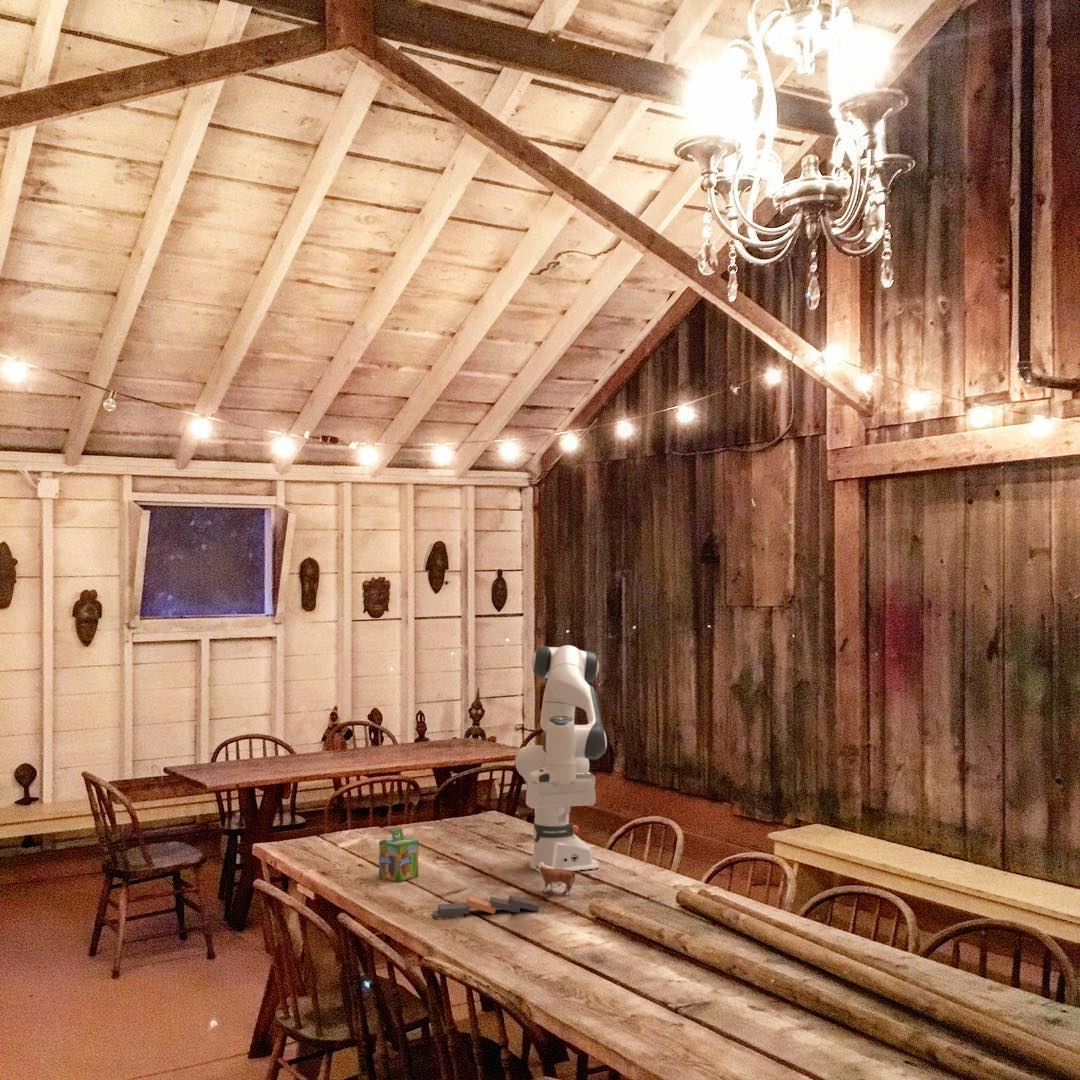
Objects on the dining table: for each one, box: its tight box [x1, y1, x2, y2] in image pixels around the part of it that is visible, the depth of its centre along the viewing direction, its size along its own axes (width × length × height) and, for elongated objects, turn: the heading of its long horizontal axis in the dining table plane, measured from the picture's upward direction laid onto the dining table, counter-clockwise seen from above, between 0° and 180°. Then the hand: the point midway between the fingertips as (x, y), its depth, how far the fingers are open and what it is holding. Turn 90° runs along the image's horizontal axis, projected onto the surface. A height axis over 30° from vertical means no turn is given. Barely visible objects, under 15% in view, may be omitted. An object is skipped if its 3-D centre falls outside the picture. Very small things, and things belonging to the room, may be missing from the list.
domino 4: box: [488, 896, 521, 914], centre depth 306 cm, size 2×5×8 cm
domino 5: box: [507, 894, 541, 912], centre depth 307 cm, size 2×5×8 cm
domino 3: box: [465, 895, 497, 915], centre depth 305 cm, size 2×5×8 cm
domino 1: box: [437, 902, 470, 915], centre depth 303 cm, size 2×5×8 cm
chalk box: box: [378, 828, 420, 883], centre depth 342 cm, size 9×9×15 cm
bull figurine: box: [536, 862, 576, 895], centre depth 326 cm, size 4×13×8 cm, turn 59°
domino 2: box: [432, 909, 465, 920], centre depth 302 cm, size 2×5×8 cm
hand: (561, 822), depth 312 cm, fingers closed
